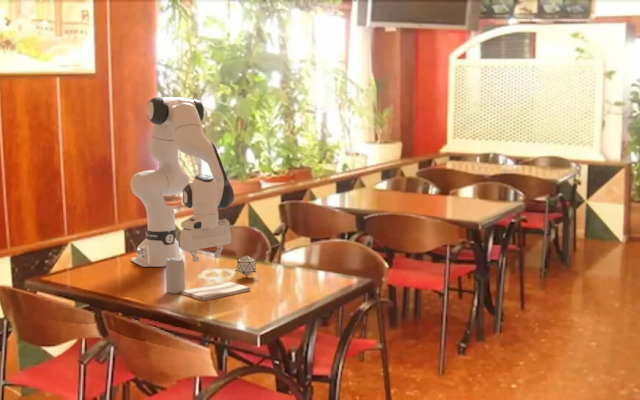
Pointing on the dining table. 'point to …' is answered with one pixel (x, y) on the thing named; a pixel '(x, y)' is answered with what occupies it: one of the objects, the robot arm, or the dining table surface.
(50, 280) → the dining table surface
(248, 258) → the game die
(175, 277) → the beverage can
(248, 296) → the dining table surface
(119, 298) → the dining table surface
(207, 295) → the board
